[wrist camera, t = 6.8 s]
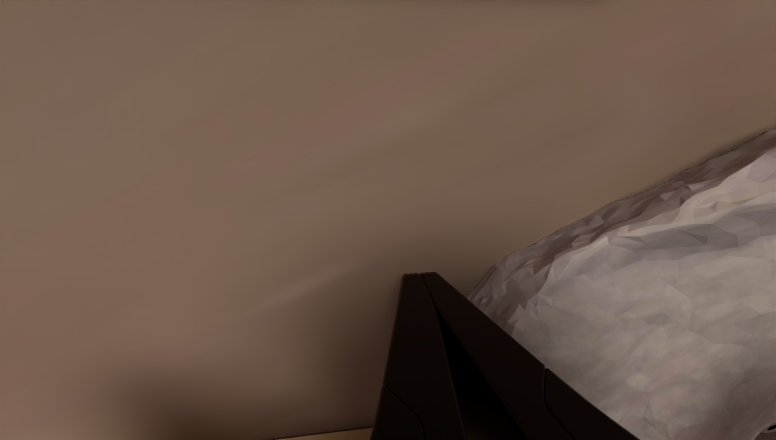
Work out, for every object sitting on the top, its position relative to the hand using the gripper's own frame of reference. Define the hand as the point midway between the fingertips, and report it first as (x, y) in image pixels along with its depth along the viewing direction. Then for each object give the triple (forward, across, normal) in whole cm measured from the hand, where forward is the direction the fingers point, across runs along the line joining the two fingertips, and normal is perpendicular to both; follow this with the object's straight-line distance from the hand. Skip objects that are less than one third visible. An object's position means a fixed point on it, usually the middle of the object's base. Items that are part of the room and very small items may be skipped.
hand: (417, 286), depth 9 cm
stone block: (+1, -7, +1) cm, 7 cm away
